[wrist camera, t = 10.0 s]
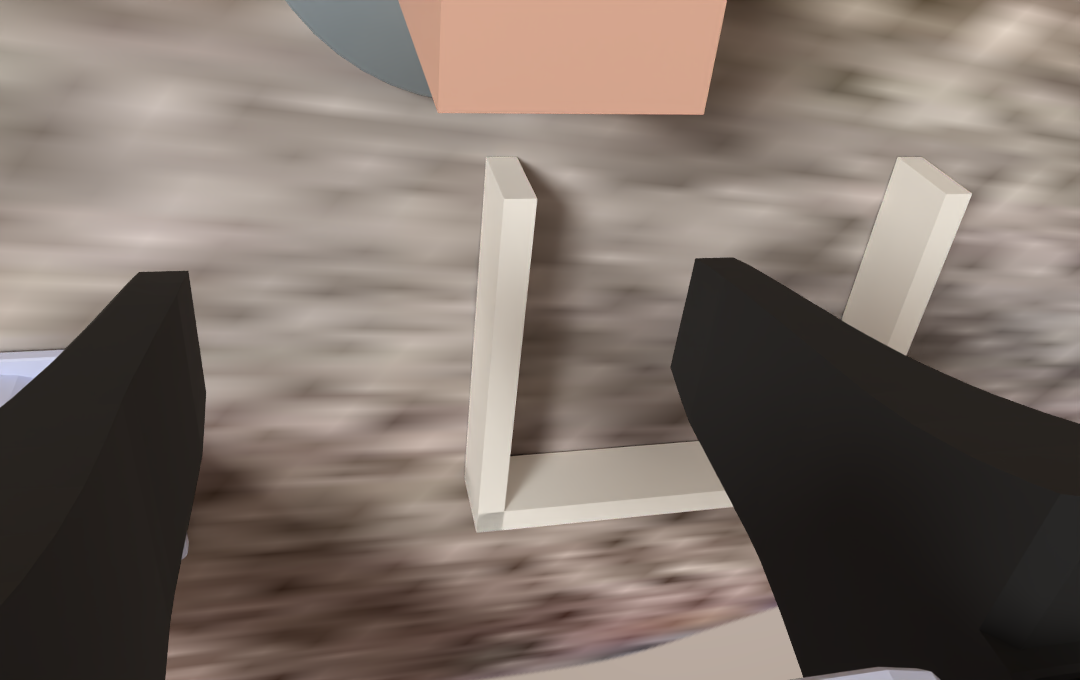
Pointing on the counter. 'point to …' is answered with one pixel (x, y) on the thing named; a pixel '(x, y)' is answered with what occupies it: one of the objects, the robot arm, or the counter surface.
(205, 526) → the counter surface
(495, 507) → the shelf bay
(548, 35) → the plain salmon-coloured rectangular block
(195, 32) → the counter surface
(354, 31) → the coaster
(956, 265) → the counter surface
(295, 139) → the counter surface
